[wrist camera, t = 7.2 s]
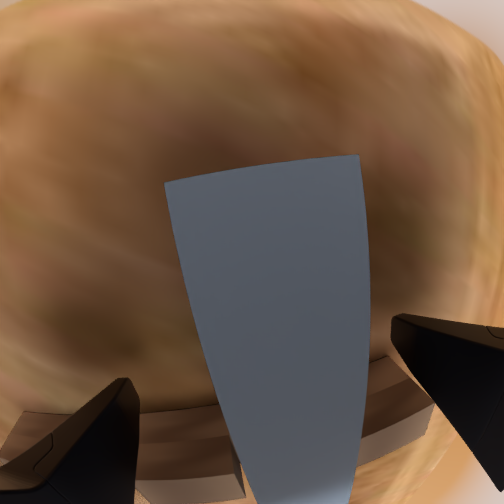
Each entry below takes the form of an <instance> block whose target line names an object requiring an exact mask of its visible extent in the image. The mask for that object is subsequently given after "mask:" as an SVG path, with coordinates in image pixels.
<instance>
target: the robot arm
mask: <svg viewBox="0 0 504 504" xmlns="http://www.w3.org/2000/svg"><path fill="white" fill-rule="evenodd" d="M391 341H392V344H393V345H394V347H395V348H396V350H397V351H398V353H399V354H400V356H401V358H402V359H403V361H404V362H405V364H406V365H407V367H408V369H409V370H410V371H411V373H412V374H413V376H414V377H415V378H416V379H417V381H418V382H419V383H420V384H421V386H422V387H423V388H424V389H425V391H426V392H427V393H428V394H429V396H430V397H431V398H432V399H433V401H434V402H435V403H436V405H437V406H438V407H439V408H440V410H441V411H442V412H443V414H444V415H445V416H446V418H447V419H448V420H449V422H450V423H451V424H452V426H453V427H454V428H455V430H456V431H457V432H458V434H459V435H460V436H461V438H462V439H463V440H464V442H465V443H466V444H467V446H468V447H469V449H470V450H471V451H472V452H473V454H474V456H475V457H476V459H477V460H478V461H479V463H480V464H481V466H482V467H483V469H484V470H485V471H486V473H487V474H488V476H489V477H490V478H491V480H492V482H493V483H494V484H495V486H496V488H497V489H498V490H499V491H500V492H502V491H503V490H504V328H500V327H491V326H483V325H476V324H469V323H462V322H455V321H449V320H442V319H436V318H429V317H423V316H417V315H411V314H405V313H401V314H398V315H396V316H393V318H392V320H391ZM139 437H140V400H139V396H138V394H137V392H136V390H135V388H134V386H133V384H132V382H131V380H130V379H129V378H118V379H116V380H115V381H113V382H112V383H111V384H110V385H109V386H107V387H106V388H105V389H104V390H102V391H101V392H100V393H99V394H97V395H96V396H95V397H94V398H93V399H91V400H90V401H89V402H88V403H86V404H85V405H84V406H83V407H81V408H80V409H79V410H78V411H76V412H75V413H74V414H73V415H71V416H70V417H69V418H68V419H67V420H65V421H64V422H63V423H62V424H60V425H59V426H58V427H57V428H55V429H54V430H53V431H52V432H50V433H49V434H48V435H46V436H45V437H44V438H43V439H41V440H40V441H39V442H37V443H36V444H35V445H33V446H32V447H30V448H29V449H27V450H26V451H25V452H23V453H22V454H20V455H18V456H17V457H15V458H14V459H12V460H11V461H9V462H7V463H6V464H4V465H3V466H1V467H0V504H134V494H135V480H136V469H137V458H138V449H139Z"/></svg>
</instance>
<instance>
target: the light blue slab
mask: <svg viewBox="0 0 504 504" xmlns="http://www.w3.org/2000/svg"><path fill="white" fill-rule="evenodd" d="M164 187H165V192H166V198H167V203H168V208H169V213H170V219H171V224H172V228H173V233H174V238H175V243H176V247H177V252H178V256H179V261H180V265H181V269H182V274H183V278H184V282H185V286H186V290H187V294H188V298H189V302H190V306H191V310H192V313H193V317H194V321H195V325H196V328H197V332H198V335H199V339H200V343H201V346H202V349H203V353H204V356H205V360H206V363H207V366H208V370H209V373H210V376H211V379H212V382H213V386H214V389H215V392H216V395H217V398H218V401H219V404H220V407H221V410H222V413H223V416H224V419H225V421H226V424H227V427H228V430H229V433H230V436H231V438H232V441H233V444H234V446H235V449H236V452H237V454H238V457H239V460H240V462H241V465H242V467H243V470H244V472H245V475H246V477H247V480H248V482H249V485H250V487H251V489H252V492H253V494H254V496H255V499H256V501H257V503H258V504H348V503H349V498H350V494H351V490H352V485H353V480H354V475H355V470H356V465H357V460H358V454H359V448H360V441H361V435H362V428H363V420H364V412H365V403H366V393H367V381H368V367H369V349H370V263H369V244H368V230H367V218H366V207H365V198H364V189H363V181H362V173H361V166H360V159H359V154H356V155H343V156H332V157H321V158H311V159H302V160H294V161H286V162H278V163H270V164H263V165H257V166H250V167H244V168H237V169H231V170H225V171H220V172H214V173H209V174H203V175H198V176H193V177H188V178H183V179H178V180H173V181H169V182H164Z"/></svg>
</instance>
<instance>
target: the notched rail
mask: <svg viewBox="0 0 504 504" xmlns="http://www.w3.org/2000/svg"><path fill="white" fill-rule="evenodd" d="M434 405H435V402H434V401H433V400H432V399H431V398H430V397H429V396H428V395H427V394H426V393H425V392H424V391H423V390H422V389H421V388H420V387H419V386H418V385H417V384H416V383H415V382H414V381H413V380H412V379H411V378H410V377H409V376H408V375H407V374H406V373H405V372H404V371H403V370H402V369H401V368H400V367H399V366H398V365H397V364H396V363H395V362H394V361H393V360H392V359H391V358H390V357H389V356H387V357H384V358H382V359H379V360H377V361H374V362H372V363H369V367H368V381H367V393H366V403H365V412H364V420H363V428H362V435H361V441H360V448H359V454H358V460H357V465H356V467H359V466H361V465H364V464H366V463H368V462H371V461H373V460H375V459H377V458H380V457H382V456H384V455H386V454H388V453H390V452H393V451H395V450H397V449H399V448H401V447H403V446H405V445H406V444H408V443H410V442H412V441H414V440H416V439H418V438H419V437H421V436H423V435H425V432H426V429H427V426H428V423H429V420H430V417H431V414H432V411H433V408H434ZM70 416H71V415H59V414H43V413H32V412H23V413H22V415H21V416H20V418H19V419H18V421H17V423H16V424H15V426H14V428H13V429H12V431H11V433H10V434H9V436H8V438H7V439H6V441H5V443H4V445H3V446H2V448H1V450H0V461H1V462H2V463H3V464H6V463H7V462H9V461H11V460H12V459H14V458H15V457H17V456H18V455H20V454H22V453H23V452H25V451H26V450H27V449H29V448H30V447H32V446H33V445H35V444H36V443H37V442H39V441H40V440H41V439H43V438H44V437H45V436H46V435H48V434H49V433H50V432H52V431H53V430H54V429H55V428H57V427H58V426H59V425H60V424H62V423H63V422H64V421H65V420H67V419H68V418H69V417H70ZM240 463H241V462H240V460H239V457H238V454H237V452H236V449H235V446H234V444H233V441H232V438H231V436H230V433H229V430H228V427H227V424H226V421H225V419H224V416H223V413H222V410H221V407H220V404H217V405H211V406H204V407H198V408H191V409H183V410H175V411H165V412H155V413H143V414H140V437H139V449H138V458H137V469H136V480H135V488H136V489H137V490H138V491H139V492H140V493H141V494H142V495H143V496H144V498H145V499H146V500H147V501H148V502H149V503H151V504H198V503H210V502H220V501H228V500H236V499H242V498H246V495H245V489H244V484H243V478H242V472H241V467H240Z"/></svg>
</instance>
